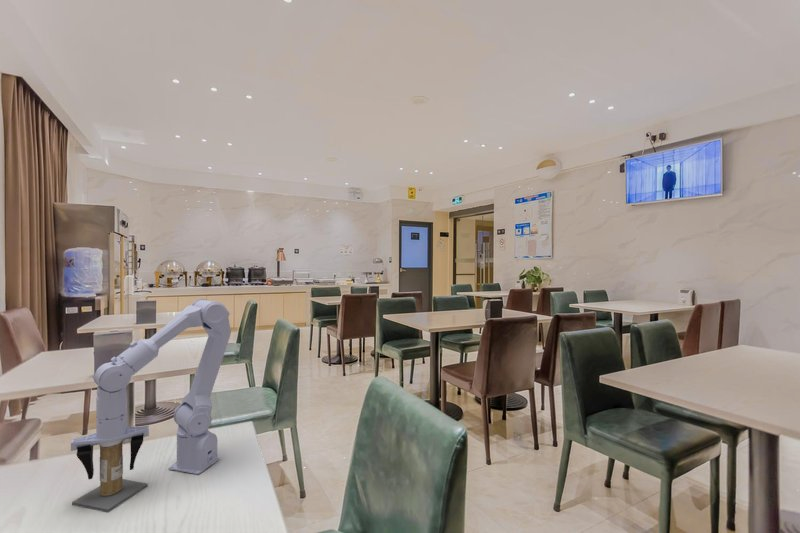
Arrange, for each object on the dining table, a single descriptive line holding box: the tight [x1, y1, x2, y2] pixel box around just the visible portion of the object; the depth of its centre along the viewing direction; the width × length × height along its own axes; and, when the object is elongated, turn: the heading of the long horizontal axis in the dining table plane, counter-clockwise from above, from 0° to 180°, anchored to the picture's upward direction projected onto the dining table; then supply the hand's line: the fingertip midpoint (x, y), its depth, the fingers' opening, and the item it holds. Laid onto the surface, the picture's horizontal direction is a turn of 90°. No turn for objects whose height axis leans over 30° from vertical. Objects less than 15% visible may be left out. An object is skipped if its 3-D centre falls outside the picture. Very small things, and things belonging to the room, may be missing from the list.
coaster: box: [71, 478, 149, 513], centre depth 90 cm, size 10×10×1 cm
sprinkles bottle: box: [98, 439, 124, 496], centre depth 90 cm, size 5×5×13 cm
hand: (111, 472), depth 91 cm, fingers open, 7 cm apart
